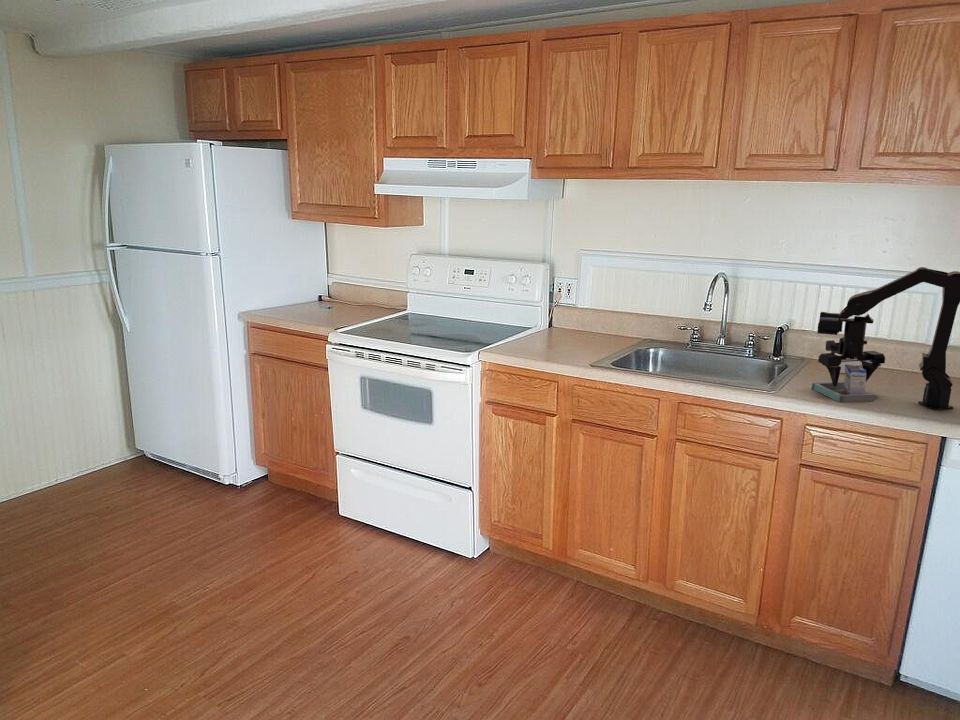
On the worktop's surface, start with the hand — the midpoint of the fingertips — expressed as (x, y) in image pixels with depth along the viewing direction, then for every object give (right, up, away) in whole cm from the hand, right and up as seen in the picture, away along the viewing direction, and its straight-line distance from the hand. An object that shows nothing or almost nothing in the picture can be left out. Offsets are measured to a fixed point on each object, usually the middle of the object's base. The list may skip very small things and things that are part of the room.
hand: (848, 385), depth 221 cm
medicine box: (+2, -3, +1) cm, 4 cm away
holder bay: (-1, -3, +1) cm, 3 cm away
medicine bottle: (+13, +4, +28) cm, 31 cm away
